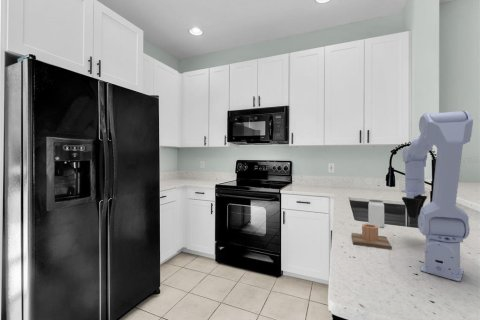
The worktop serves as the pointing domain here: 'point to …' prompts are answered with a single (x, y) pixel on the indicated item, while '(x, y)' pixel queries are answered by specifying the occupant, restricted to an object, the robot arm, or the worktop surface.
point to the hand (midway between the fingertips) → (414, 215)
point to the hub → (370, 232)
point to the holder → (371, 242)
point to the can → (376, 213)
